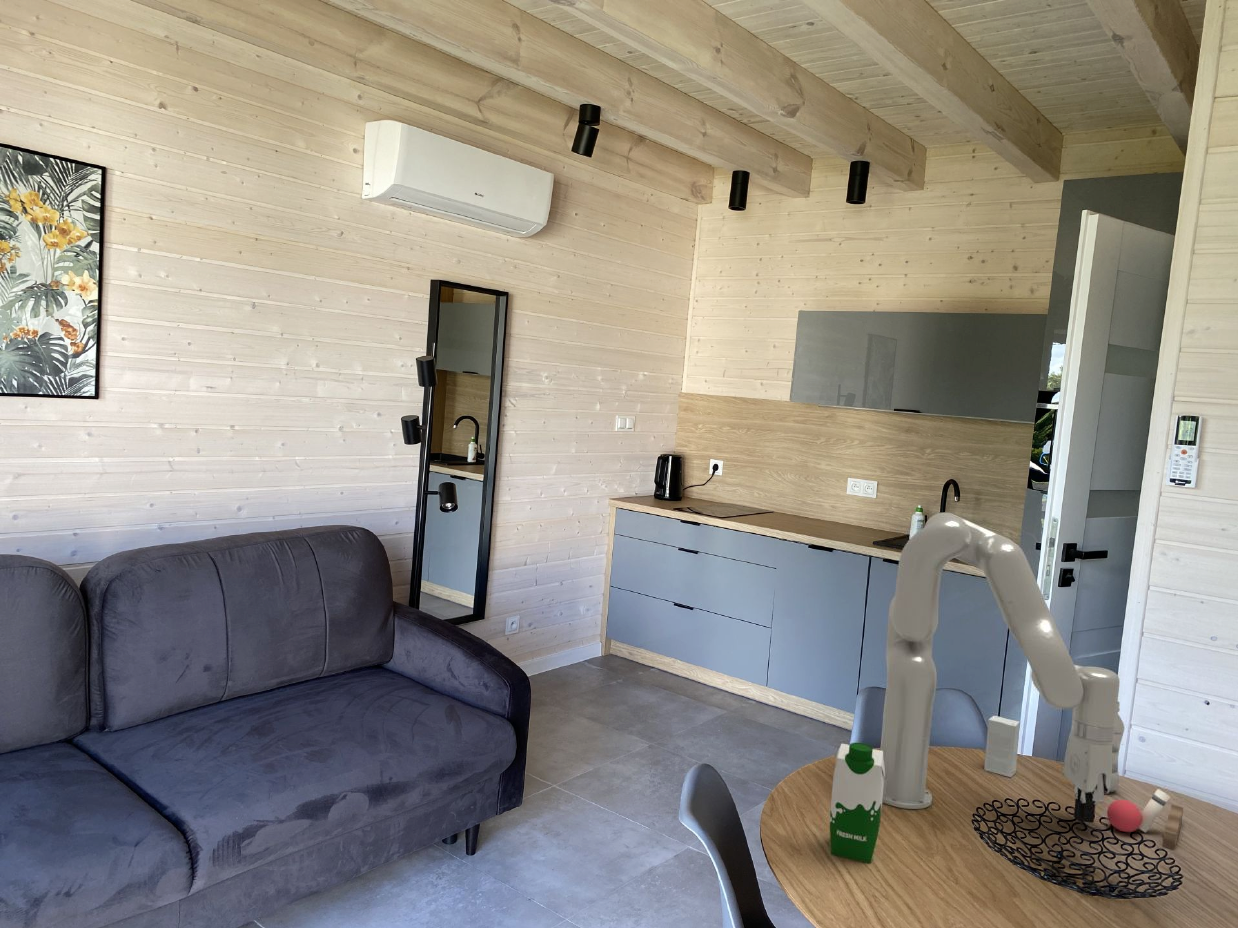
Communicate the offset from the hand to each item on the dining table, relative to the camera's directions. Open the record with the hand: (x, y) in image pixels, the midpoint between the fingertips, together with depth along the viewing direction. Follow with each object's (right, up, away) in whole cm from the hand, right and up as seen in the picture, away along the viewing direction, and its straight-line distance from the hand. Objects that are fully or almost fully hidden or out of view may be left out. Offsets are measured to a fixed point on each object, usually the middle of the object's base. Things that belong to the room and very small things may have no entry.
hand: (1083, 819), depth 177 cm
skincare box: (-6, 0, +26) cm, 27 cm away
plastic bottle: (+14, -1, +20) cm, 24 cm away
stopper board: (+18, -3, 0) cm, 18 cm away
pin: (+11, -2, 0) cm, 11 cm away
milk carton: (-50, +1, -16) cm, 53 cm away
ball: (+8, +1, 0) cm, 8 cm away
